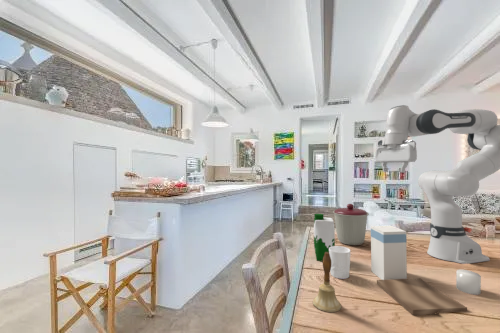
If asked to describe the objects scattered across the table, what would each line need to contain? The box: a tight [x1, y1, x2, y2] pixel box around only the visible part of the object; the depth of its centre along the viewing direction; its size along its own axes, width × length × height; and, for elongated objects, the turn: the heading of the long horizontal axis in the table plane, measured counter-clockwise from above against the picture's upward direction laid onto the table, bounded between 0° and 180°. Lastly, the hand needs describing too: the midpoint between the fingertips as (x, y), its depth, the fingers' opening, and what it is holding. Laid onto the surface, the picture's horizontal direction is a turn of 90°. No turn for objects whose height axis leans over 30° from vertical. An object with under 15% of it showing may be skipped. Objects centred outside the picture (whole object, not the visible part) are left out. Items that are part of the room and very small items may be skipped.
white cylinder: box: [455, 269, 482, 296], centre depth 81 cm, size 6×6×6 cm
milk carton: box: [313, 213, 336, 262], centre depth 111 cm, size 9×9×20 cm
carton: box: [370, 225, 408, 280], centre depth 93 cm, size 9×9×18 cm
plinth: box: [376, 277, 468, 316], centre depth 78 cm, size 16×18×2 cm
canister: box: [332, 203, 369, 246], centre depth 133 cm, size 18×18×21 cm
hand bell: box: [312, 252, 342, 313], centre depth 75 cm, size 8×8×16 cm
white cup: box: [329, 245, 351, 280], centre depth 94 cm, size 8×8×10 cm
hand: (393, 172), depth 110 cm, fingers open, 8 cm apart
